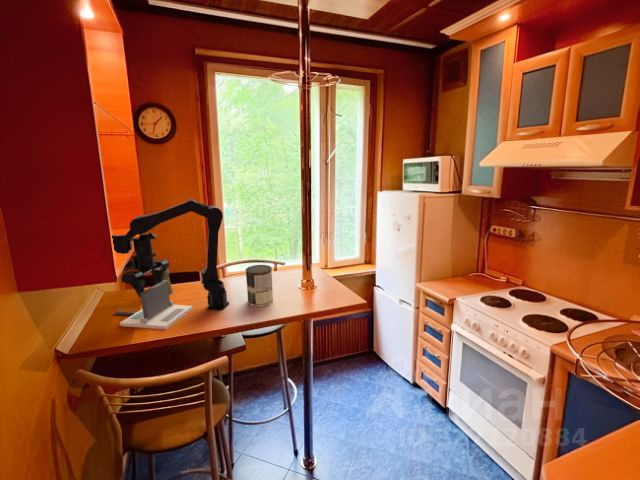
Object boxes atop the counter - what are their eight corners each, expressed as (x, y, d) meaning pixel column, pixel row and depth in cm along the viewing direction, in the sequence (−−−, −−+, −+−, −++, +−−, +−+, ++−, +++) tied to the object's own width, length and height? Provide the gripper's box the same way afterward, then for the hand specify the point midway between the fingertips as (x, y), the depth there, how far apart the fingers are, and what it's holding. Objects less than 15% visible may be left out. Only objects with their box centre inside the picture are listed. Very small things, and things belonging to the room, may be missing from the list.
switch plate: (192, 308, 134) (192, 301, 134) (166, 329, 118) (165, 321, 118) (131, 304, 139) (130, 298, 139) (98, 324, 123) (96, 316, 122)
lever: (171, 305, 134) (168, 279, 132) (147, 321, 121) (143, 293, 118) (167, 304, 135) (164, 278, 132) (143, 321, 121) (139, 292, 119)
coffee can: (243, 305, 136) (241, 271, 133) (253, 296, 146) (251, 264, 143) (268, 307, 134) (266, 273, 131) (276, 297, 144) (275, 265, 141)
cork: (167, 296, 148) (164, 271, 145) (154, 295, 149) (151, 271, 146) (175, 291, 153) (172, 267, 151) (163, 290, 155) (160, 266, 152)
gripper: (141, 244, 133) (147, 283, 137) (103, 258, 115) (111, 301, 119) (167, 245, 131) (172, 284, 135) (133, 259, 113) (139, 303, 117)
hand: (149, 292), depth 126 cm, fingers open, 9 cm apart
